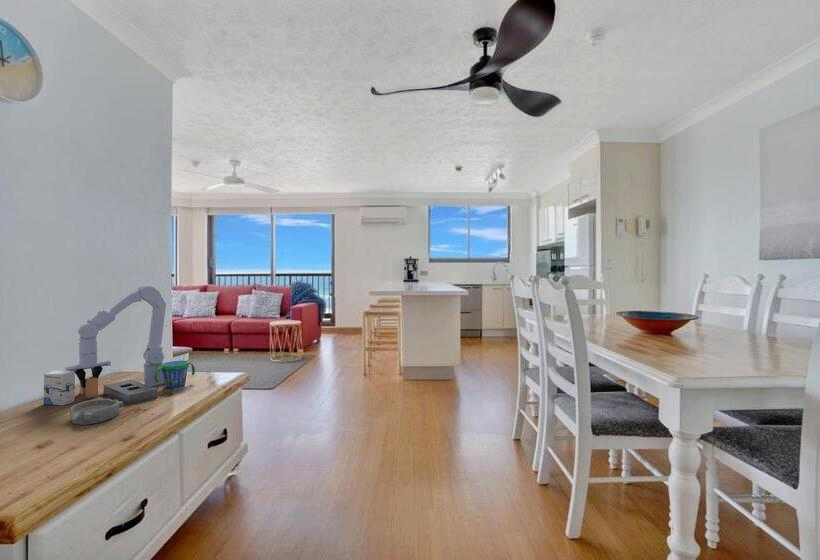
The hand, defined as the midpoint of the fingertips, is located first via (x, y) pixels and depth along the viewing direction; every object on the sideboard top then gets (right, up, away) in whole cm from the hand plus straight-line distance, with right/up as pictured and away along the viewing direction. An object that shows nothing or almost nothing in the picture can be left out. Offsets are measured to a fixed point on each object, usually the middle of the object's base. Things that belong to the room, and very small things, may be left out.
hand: (88, 386), depth 161 cm
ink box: (-3, -4, -10) cm, 11 cm away
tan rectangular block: (0, -3, 0) cm, 3 cm away
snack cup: (+28, -4, +13) cm, 31 cm away
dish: (+23, -4, -25) cm, 34 cm away
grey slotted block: (+18, -4, -1) cm, 18 cm away
